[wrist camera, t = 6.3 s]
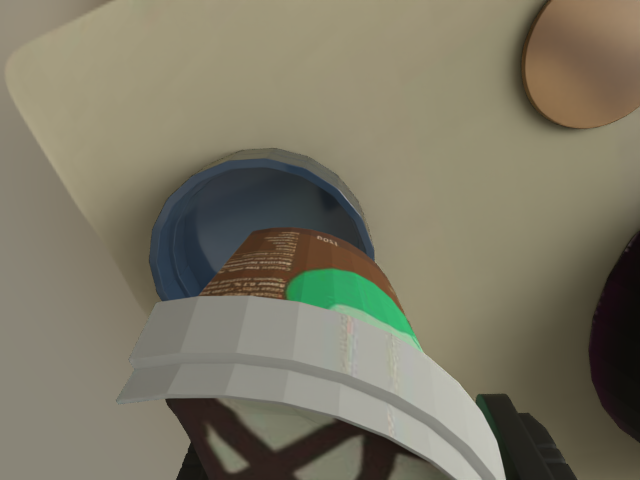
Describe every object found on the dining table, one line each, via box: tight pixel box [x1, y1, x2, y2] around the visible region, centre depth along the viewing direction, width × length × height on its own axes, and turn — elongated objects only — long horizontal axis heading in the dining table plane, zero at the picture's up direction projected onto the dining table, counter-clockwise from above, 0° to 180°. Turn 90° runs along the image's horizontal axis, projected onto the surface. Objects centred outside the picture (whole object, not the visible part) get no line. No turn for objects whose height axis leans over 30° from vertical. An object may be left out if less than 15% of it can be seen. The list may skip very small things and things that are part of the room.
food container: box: [116, 227, 506, 480], centre depth 12 cm, size 12×6×10 cm, turn 15°
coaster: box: [521, 0, 640, 129], centre depth 27 cm, size 10×10×1 cm
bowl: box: [149, 148, 375, 302], centre depth 31 cm, size 16×16×5 cm
